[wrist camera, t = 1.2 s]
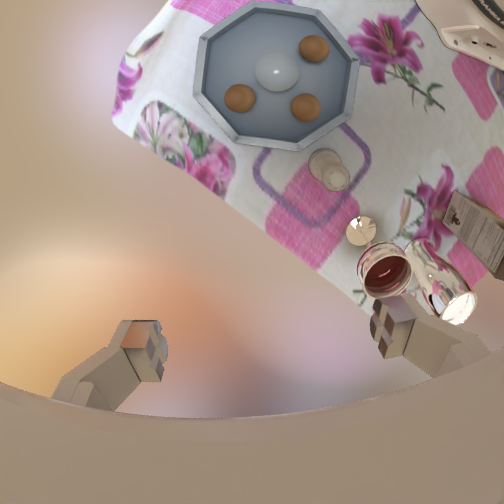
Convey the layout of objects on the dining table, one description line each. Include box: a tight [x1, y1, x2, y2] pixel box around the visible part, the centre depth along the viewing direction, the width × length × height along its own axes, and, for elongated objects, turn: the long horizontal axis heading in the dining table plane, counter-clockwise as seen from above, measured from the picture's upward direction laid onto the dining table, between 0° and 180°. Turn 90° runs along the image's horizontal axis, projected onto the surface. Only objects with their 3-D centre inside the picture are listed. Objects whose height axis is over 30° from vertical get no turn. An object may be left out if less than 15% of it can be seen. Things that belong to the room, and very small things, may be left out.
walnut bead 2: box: [299, 35, 330, 62], centre depth 25 cm, size 4×4×4 cm
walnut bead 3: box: [290, 93, 321, 122], centre depth 29 cm, size 4×4×4 cm
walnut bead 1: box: [224, 84, 255, 113], centre depth 29 cm, size 4×4×4 cm
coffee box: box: [442, 191, 504, 281], centre depth 30 cm, size 9×6×16 cm
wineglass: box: [346, 216, 413, 299], centre depth 35 cm, size 7×7×12 cm
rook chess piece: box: [309, 148, 350, 192], centre depth 32 cm, size 4×4×8 cm
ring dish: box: [193, 1, 360, 152], centre depth 28 cm, size 19×19×3 cm
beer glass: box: [404, 237, 477, 326], centre depth 35 cm, size 7×7×15 cm
